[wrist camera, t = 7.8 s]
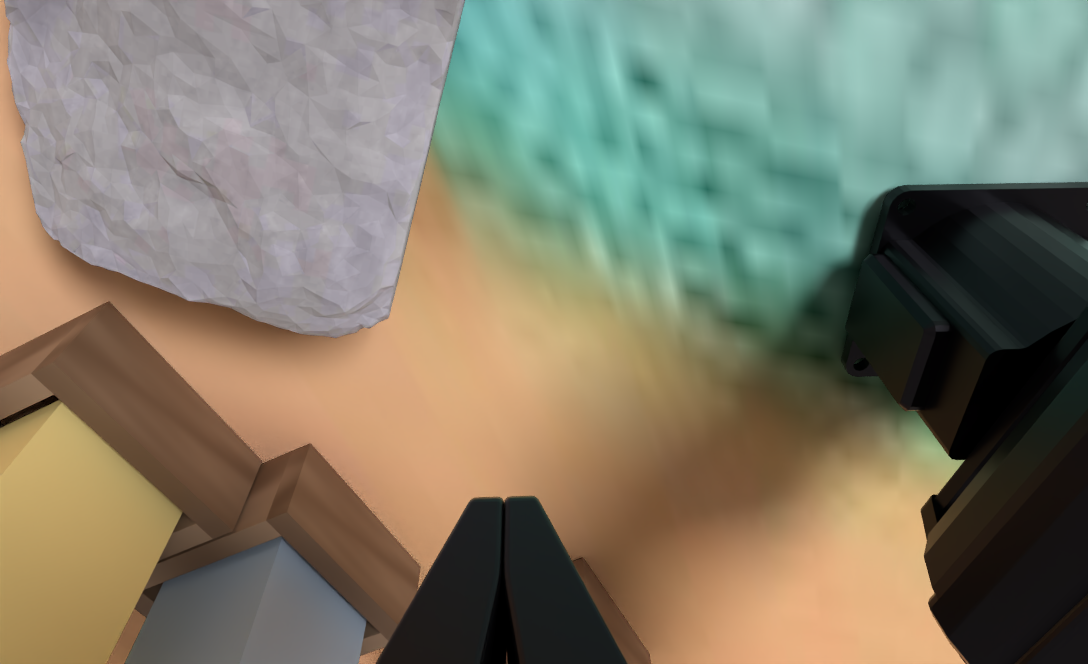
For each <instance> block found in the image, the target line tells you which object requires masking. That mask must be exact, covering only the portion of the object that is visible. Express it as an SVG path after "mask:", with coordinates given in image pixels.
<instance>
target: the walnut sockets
mask: <svg viewBox="0 0 1088 664" xmlns="http://www.w3.org/2000/svg"><path fill="white" fill-rule="evenodd" d="M52 395H55V396H56V397H57V398H58V399H59V400H61V401H62V402H63V403H64V404H65V405H66V406H67V407H68V408H69V409H70V410H72V411H73V412H74V413H75V414H76V415H77V416H78V417H79V418H80V419H81V420H83V421H84V422H85V423H86V424H87V425H88V426H89V427H90V428H91V429H92V430H94V431H95V432H96V433H97V434H98V435H99V436H100V437H101V438H102V439H103V440H105V441H106V442H107V443H108V444H109V445H110V446H111V447H112V448H113V449H114V450H116V451H117V452H118V453H119V454H120V455H121V456H122V457H123V458H124V459H125V460H127V461H128V462H129V463H130V464H131V465H132V466H133V467H134V468H135V469H136V470H138V471H139V472H140V473H141V474H142V475H143V476H144V477H145V478H146V479H147V480H149V481H150V482H151V483H152V484H153V485H154V486H155V487H156V488H157V489H158V490H160V491H161V492H162V493H163V494H164V495H165V496H166V497H167V498H168V499H169V500H171V501H172V502H173V503H174V504H175V505H176V506H177V507H178V508H179V509H180V510H182V511H183V513H182V515H181V516H180V518H179V520H178V522H177V524H176V526H175V528H174V530H173V532H172V534H171V536H170V538H169V540H168V542H167V544H166V546H165V548H164V550H163V552H162V554H161V556H160V558H159V560H158V562H157V564H156V566H155V568H154V570H153V572H152V574H151V576H150V578H149V580H148V582H147V584H146V586H145V588H144V590H143V592H142V594H141V596H140V598H139V600H138V602H137V604H136V606H135V609H136V610H137V611H138V612H140V613H141V614H142V615H144V616H145V617H146V618H147V616H148V614H149V611H150V609H151V607H152V605H153V603H154V601H155V599H156V597H157V595H158V593H159V591H160V589H161V587H162V584H163V582H165V581H168V580H170V579H173V578H175V577H178V576H180V575H183V574H186V573H188V572H191V571H193V570H196V569H198V568H201V567H203V566H206V565H209V564H211V563H214V562H216V561H219V560H221V559H224V558H226V557H229V556H232V555H234V554H237V553H239V552H242V551H244V550H247V549H249V548H252V547H255V546H257V545H260V544H262V543H265V542H267V541H270V540H272V539H275V538H278V537H280V536H282V537H283V538H284V539H285V540H286V541H287V542H288V543H289V544H290V545H291V546H292V547H293V548H294V549H295V550H296V551H297V552H298V553H299V554H301V555H302V556H303V557H304V558H305V559H306V560H307V561H308V562H309V563H310V564H311V565H312V566H313V567H314V568H315V569H316V570H317V571H318V572H319V573H320V574H321V575H322V576H323V577H324V578H325V579H326V580H327V581H328V582H329V583H330V584H331V585H332V586H333V587H334V588H335V589H336V590H337V591H338V592H339V593H340V594H341V595H342V596H343V597H344V598H345V599H346V600H347V601H348V602H349V603H350V604H351V605H352V606H353V607H354V608H355V609H356V610H357V611H358V612H360V613H361V614H362V615H363V616H364V617H365V618H366V619H367V621H366V627H365V632H364V637H363V642H362V648H361V653H360V656H361V655H364V654H367V653H370V652H372V651H375V650H378V649H381V648H384V647H385V646H386V645H387V643H388V641H389V639H390V638H391V636H392V634H393V633H394V631H395V629H396V627H397V626H398V624H399V622H400V620H401V619H402V617H403V615H404V613H405V612H406V610H407V608H408V607H409V605H410V603H411V601H412V600H413V598H414V596H415V594H416V593H417V589H418V581H419V574H420V566H419V565H418V564H417V562H416V561H415V560H414V559H413V558H412V557H411V556H410V555H409V553H408V552H407V551H406V550H405V549H404V548H403V547H402V546H401V544H400V543H399V542H398V541H397V540H396V539H395V538H394V537H393V535H392V534H391V533H390V532H389V531H388V530H387V529H386V528H385V526H384V525H383V524H382V523H381V522H380V521H379V520H378V519H377V518H376V516H375V515H374V514H373V513H372V512H371V511H370V510H369V509H368V507H367V506H366V505H365V504H364V503H363V502H362V501H361V500H360V498H359V497H358V496H357V495H356V494H355V493H354V492H353V491H352V489H351V488H350V487H349V486H348V485H347V484H346V483H345V482H344V480H343V479H342V478H341V477H340V476H339V475H338V474H337V473H336V471H335V470H334V469H333V468H332V467H331V466H330V465H329V464H328V462H327V461H326V460H325V459H324V458H323V457H322V456H321V455H320V453H319V452H318V451H317V450H316V449H315V448H314V447H313V446H312V444H308V445H306V446H303V447H301V448H299V449H296V450H294V451H291V452H289V453H287V454H284V455H282V456H280V457H277V458H275V459H272V460H270V461H268V462H265V463H263V464H261V463H262V461H261V460H260V459H259V458H258V457H257V455H256V454H255V453H254V452H253V451H252V450H251V449H250V448H249V447H248V446H247V445H246V444H245V443H244V442H243V441H242V440H241V439H240V438H239V437H238V436H237V435H236V434H235V433H234V431H233V430H232V429H231V428H230V427H229V426H228V425H227V424H226V423H225V422H224V421H223V420H222V419H221V418H220V417H219V416H218V415H217V414H216V413H215V412H214V411H213V410H212V409H211V407H210V406H209V405H208V404H207V403H206V402H205V401H204V400H203V399H202V398H201V397H200V396H199V395H198V394H197V393H196V392H195V391H194V390H193V389H192V388H191V387H190V386H189V385H188V383H187V382H186V381H185V380H184V379H183V378H182V377H181V376H180V375H179V374H178V373H177V372H176V371H175V370H174V369H173V368H172V367H171V366H170V365H169V364H168V363H167V362H166V360H165V359H164V358H163V357H162V356H161V355H160V354H159V353H158V352H157V351H156V350H155V349H154V348H153V347H152V346H151V345H150V344H149V343H148V342H147V341H146V340H145V339H144V338H143V336H142V335H141V334H140V333H139V332H138V331H137V330H136V329H135V328H134V327H133V326H132V325H131V324H130V323H129V322H128V321H127V320H126V319H125V318H124V317H123V316H122V315H121V314H120V312H119V311H118V310H117V309H116V308H115V307H114V306H113V305H112V304H111V303H110V302H107V303H105V304H103V305H101V306H99V307H97V308H95V309H93V310H91V311H89V312H87V313H85V314H83V315H81V316H79V317H77V318H75V319H73V320H71V321H69V322H67V323H65V324H63V325H61V326H59V327H57V328H55V329H53V330H51V331H49V332H47V333H45V334H43V335H41V336H39V337H37V338H35V339H33V340H31V341H29V342H27V343H25V344H23V345H21V346H19V347H17V348H16V349H14V350H12V351H10V352H8V353H6V354H4V355H2V356H0V420H2V419H4V418H6V417H8V416H10V415H12V414H14V413H16V412H18V411H20V410H22V409H25V408H27V407H29V406H31V405H33V404H35V403H37V402H39V401H41V400H43V399H45V398H47V397H50V396H52ZM1 427H3V425H2V424H1V423H0V428H1ZM572 562H573V564H574V565H575V567H576V569H577V571H578V573H579V575H580V576H581V578H582V580H583V582H584V584H585V586H586V587H587V589H588V591H589V593H590V595H591V597H592V598H593V600H594V602H595V604H596V606H597V608H598V609H599V611H600V613H601V615H602V617H603V619H604V620H605V622H606V624H607V626H608V628H609V630H610V631H611V633H612V635H613V637H614V639H615V641H616V642H617V644H618V646H619V648H620V650H621V652H622V653H623V655H624V657H625V659H626V661H627V663H628V664H651V660H650V654H649V653H648V651H647V650H646V648H645V647H644V645H643V644H642V643H641V641H640V640H639V638H638V637H637V635H636V634H635V632H634V631H633V629H632V628H631V627H630V625H629V624H628V622H627V621H626V619H625V618H624V616H623V615H622V614H621V612H620V611H619V609H618V608H617V606H616V605H615V603H614V602H613V600H612V599H611V598H610V596H609V595H608V593H607V592H606V590H605V589H604V587H603V586H602V585H601V583H600V582H599V580H598V579H597V577H596V576H595V574H594V573H593V572H592V570H591V569H590V567H589V566H588V564H587V563H586V561H585V560H584V558H581V559H578V560H575V561H572ZM507 664H508V663H507Z"/></svg>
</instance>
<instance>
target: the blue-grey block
mask: <svg viewBox="0 0 1088 664" xmlns="http://www.w3.org/2000/svg"><path fill="white" fill-rule="evenodd" d="M366 621H367V619H366V618H365V617H364V616H363V615H362V614H361V613H360V612H358V611H357V610H356V609H355V608H354V607H353V606H352V605H351V604H350V603H349V602H348V601H347V600H346V599H345V598H344V597H343V596H342V595H341V594H340V593H339V592H338V591H337V590H336V589H335V588H334V587H333V586H332V585H331V584H330V583H329V582H328V581H327V580H326V579H325V578H324V577H323V576H322V575H321V574H320V573H319V572H318V571H317V570H316V569H315V568H314V567H313V566H312V565H311V564H310V563H309V562H308V561H307V560H306V559H305V558H304V557H303V556H302V555H301V554H299V553H298V552H297V551H296V550H295V549H294V548H293V547H292V546H291V545H290V544H289V543H288V542H287V541H286V540H285V539H284V538H283V537H282V536H280V537H278V538H275V539H272V540H270V541H267V542H265V543H262V544H260V545H257V546H255V547H252V548H249V549H247V550H244V551H242V552H239V553H237V554H234V555H232V556H229V557H226V558H224V559H221V560H219V561H216V562H214V563H211V564H209V565H206V566H203V567H201V568H198V569H196V570H193V571H191V572H188V573H186V574H183V575H180V576H178V577H175V578H173V579H170V580H168V581H165V582H163V584H162V587H161V589H160V591H159V593H158V595H157V597H156V599H155V601H154V603H153V605H152V607H151V609H150V611H149V614H148V616H147V618H146V620H145V622H144V624H143V626H142V628H141V630H140V632H139V634H138V636H137V638H136V641H135V643H134V645H133V647H132V649H131V651H130V653H129V655H128V657H127V659H126V661H125V663H124V664H358V663H359V658H360V653H361V648H362V642H363V637H364V632H365V627H366Z"/></svg>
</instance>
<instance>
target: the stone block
mask: <svg viewBox="0 0 1088 664" xmlns="http://www.w3.org/2000/svg"><path fill="white" fill-rule="evenodd" d="M4 2H5V8H6V17H7V18H8V20H9V21H10V29H9V36H8V59H7V63H8V67H9V71H10V75H11V79H12V91H13V95H14V99H15V103H16V106H17V108H18V111H19V113H20V115H21V117H22V119H23V121H24V123H25V125H26V126H25V131H24V136H23V138H22V140H21V145H22V148H23V152H24V155H25V159H26V163H27V168H28V173H29V179H30V184H31V189H32V194H33V198H34V203H35V208H36V213H37V215H38V216H39V218H40V220H41V223H42V226H43V228H44V229H45V230H46V231H47V233H48V234H49V235H50V236H51V237H52V238H53V239H54V240H59V241H60V243H61V246H63V247H64V248H66V249H67V250H69V251H70V252H72V253H73V254H75V255H76V256H78V257H80V258H81V259H83V260H84V261H86V262H88V263H89V264H91V265H94V266H99V267H103V268H105V269H107V270H111V271H116V272H119V273H122V274H124V275H126V276H128V277H130V278H133V279H135V280H137V281H140V282H143V283H146V284H149V285H151V286H154V287H157V288H159V289H162V290H164V291H166V292H169V293H172V294H175V295H177V296H179V297H182V298H184V299H186V300H188V301H194V302H204V303H211V304H215V305H219V306H224V307H229V308H232V309H234V310H235V311H237V312H239V313H241V314H243V315H245V316H247V317H250V318H252V319H254V320H256V321H260V322H265V323H267V324H270V325H273V326H276V327H278V328H281V329H286V330H290V331H293V332H296V333H299V334H305V335H316V336H326V337H333V338H337V337H340V336H343V335H347V334H351V333H356V332H357V331H358V330H360V329H362V328H364V327H365V328H371V327H373V326H374V325H375V324H377V323H379V322H381V321H383V320H385V319H388V317H389V315H390V310H391V306H392V302H393V298H394V294H395V290H396V286H397V282H398V278H399V274H400V270H401V266H402V262H403V257H404V253H405V249H406V245H407V240H408V236H409V232H410V227H411V223H412V219H413V215H414V211H415V206H416V202H417V198H418V194H419V190H420V186H421V182H422V177H423V173H424V169H425V165H426V161H427V156H428V152H429V148H430V144H431V140H432V136H433V131H434V127H435V123H436V118H437V114H438V109H439V105H440V101H441V97H442V93H443V89H444V85H445V81H446V77H447V73H448V69H449V65H450V60H451V56H452V52H453V48H454V44H455V40H456V36H457V32H458V28H459V23H460V19H461V15H462V10H463V6H464V3H465V0H4Z"/></svg>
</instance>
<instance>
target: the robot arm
mask: <svg viewBox="0 0 1088 664" xmlns="http://www.w3.org/2000/svg"><path fill="white" fill-rule="evenodd" d="M905 199H909V203H908V205H907V206H906V207H904V208H903V209H900V210H898V206H899V204H900V203H901V202H902V201H903V200H905ZM1087 203H1088V182H1068V183H1006V184H944V185H903V186H898V187H896V188H895V189H893V190H891V191H890V192H889V193H888V194H887V195H886V197H885V200H884V202H883V205H882V209H881V213H880V216H879V220H878V224H877V228H876V231H875V235H874V239H873V242H872V246H871V250H870V254H869V255H868V256H867V257H866V258H865V259H864V260H863V262H862V265H861V269H860V273H859V277H858V280H857V284H856V288H855V292H854V295H853V299H852V303H851V307H850V311H849V314H848V318H847V322H846V326H845V329H846V331H847V332H848V335H847V339H846V343H845V347H844V350H843V354H842V359H841V362H842V364H843V366H844V368H845V369H846V371H847V372H848V374H850V375H852V376H857V377H864V376H879V378H880V379H881V380H882V382H883V383H884V385H885V386H886V387H887V389H888V390H889V392H890V393H891V395H892V396H893V397H894V399H895V400H896V402H897V403H898V404H899V405H900V406H901V407H902V408H903V409H904V410H905V411H917V413H918V414H919V416H920V417H921V418H922V420H923V421H924V422H925V424H926V425H927V427H928V428H929V429H930V431H931V432H932V433H933V435H934V436H935V438H936V439H937V440H938V442H939V443H940V444H941V446H942V447H943V448H944V450H945V451H946V453H947V454H948V455H949V457H950V458H951V459H955V460H965V461H964V462H963V463H962V465H961V466H960V467H959V468H958V470H957V471H956V472H955V473H954V475H953V476H952V477H951V478H950V480H949V481H948V482H947V483H946V485H945V486H944V487H943V489H942V490H941V491H940V492H939V494H938V495H932V496H931V497H930V498H929V499H928V501H927V502H926V503H925V505H924V506H923V507H922V508H921V515H922V519H923V524H924V529H925V533H926V538H927V543H926V548H925V553H924V559H925V563H926V566H927V570H928V574H929V578H930V581H931V585H932V588H933V590H934V592H935V593H934V594H933V596H932V597H931V598H930V599H929V602H928V604H929V607H930V610H931V612H932V615H933V617H934V618H935V620H936V622H937V623H938V625H939V627H940V628H941V630H942V631H943V633H944V635H945V636H946V638H947V639H948V641H949V643H950V644H951V645H952V647H953V648H954V649H955V650H956V651H957V653H958V654H959V655H960V657H961V658H962V660H963V661H964V662H965V663H966V664H1088V206H1087ZM860 358H863V360H862V361H861V362H859V363H855V361H856V360H858V359H860ZM854 363H855V364H854ZM507 663H508V664H628V663H627V661H626V659H625V657H624V655H623V653H622V652H621V650H620V648H619V646H618V644H617V642H616V641H615V639H614V637H613V635H612V633H611V631H610V630H609V628H608V626H607V624H606V622H605V620H604V619H603V617H602V615H601V613H600V611H599V609H598V608H597V606H596V604H595V602H594V600H593V598H592V597H591V595H590V593H589V591H588V589H587V587H586V586H585V584H584V582H583V580H582V578H581V576H580V575H579V573H578V571H577V569H576V567H575V565H574V564H573V562H572V560H571V558H570V556H569V554H568V553H567V551H566V549H565V547H564V545H563V543H562V542H561V540H560V538H559V536H558V534H557V532H556V531H555V529H554V527H553V525H552V523H551V521H550V520H549V518H548V516H547V514H546V512H545V510H544V509H543V507H542V505H541V503H540V501H539V500H538V499H537V498H536V497H534V496H511V497H507V498H506V499H505V502H504V501H503V499H502V498H500V497H478V498H473V499H472V500H470V502H469V503H468V505H467V506H466V508H465V510H464V511H463V513H462V515H461V517H460V518H459V520H458V522H457V524H456V525H455V527H454V529H453V531H452V532H451V534H450V536H449V537H448V539H447V541H446V543H445V544H444V546H443V548H442V550H441V551H440V553H439V555H438V556H437V558H436V560H435V562H434V563H433V565H432V567H431V569H430V570H429V572H428V574H427V575H426V577H425V579H424V581H423V582H422V584H421V586H420V588H419V589H418V591H417V593H416V594H415V596H414V598H413V600H412V601H411V603H410V605H409V607H408V608H407V610H406V612H405V613H404V615H403V617H402V619H401V620H400V622H399V624H398V626H397V627H396V629H395V631H394V633H393V634H392V636H391V638H390V639H389V641H388V643H387V645H386V646H385V648H384V650H383V652H382V653H381V655H380V657H379V658H378V660H377V662H376V664H507Z"/></svg>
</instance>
